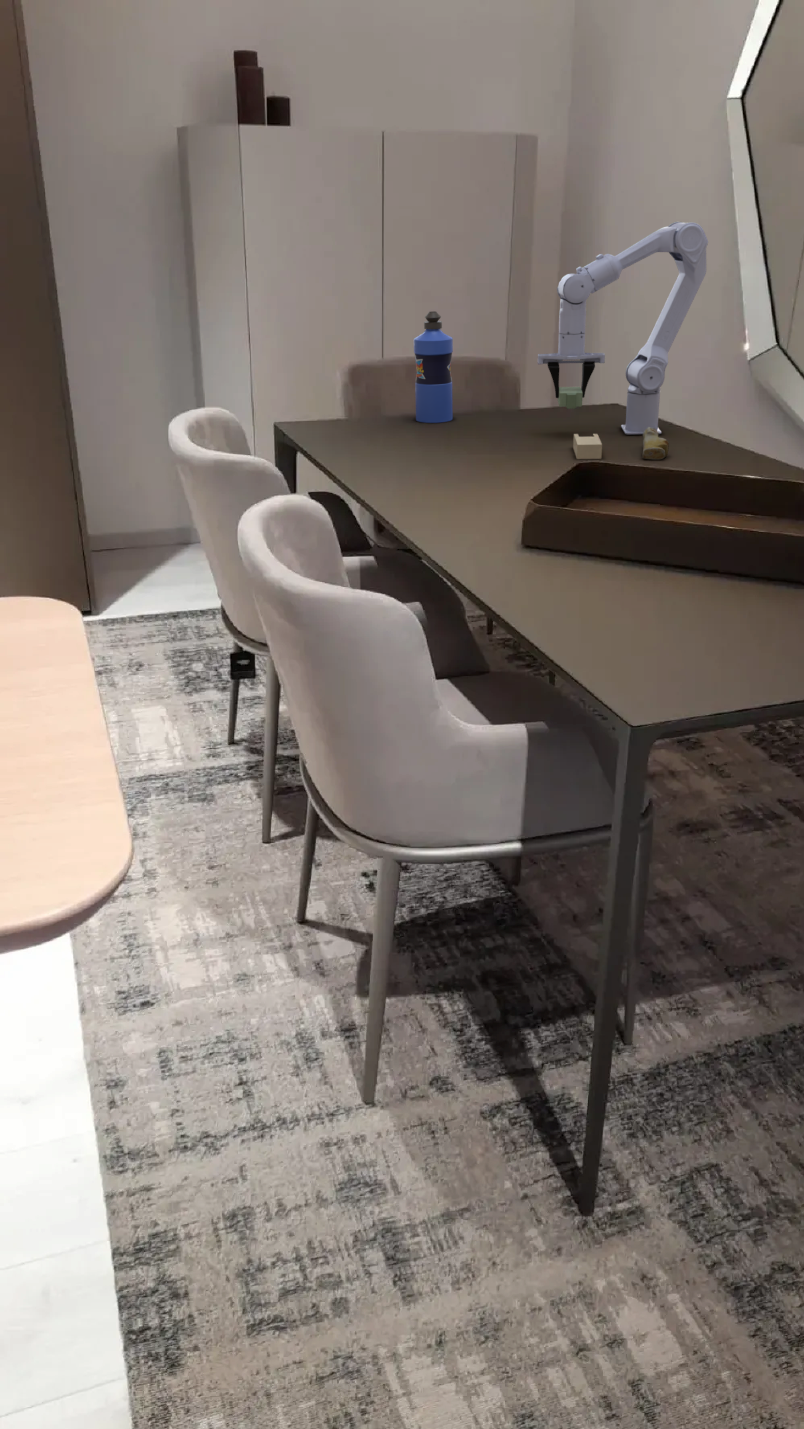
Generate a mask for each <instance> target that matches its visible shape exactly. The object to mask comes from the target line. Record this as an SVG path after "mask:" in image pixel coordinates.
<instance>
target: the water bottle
mask: <svg viewBox="0 0 804 1429" xmlns="http://www.w3.org/2000/svg"><path fill="white" fill-rule="evenodd" d="M441 318H442V316H441V315H440V314H439V313H438V311H434V310H433V311H428V313H427V314H426V315H425V316H424V319H425V320H426V321H423V330H424V332H423V333H421V334H419V335H418V336H416V337H415V338H413V353H414V358H415V367H416V375H415V384H414V385H415V388H414V390H415V391H414V392H415V393H414V394H415V421H417V422H418V423H425V424H426V423H428V424H439V423H446V422H447V423H448V422H450V421H452V420H453V419H454V418H453V417H454V416H453V410H454V408H453V378H452V371H451V368H452V357H453V352H454V344H453V342H454V339H453V337H452V336H450V335H448V334H446V333H444V332H443V331H442V328H443V322H442V321H441V320H440V319H441Z"/></svg>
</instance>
